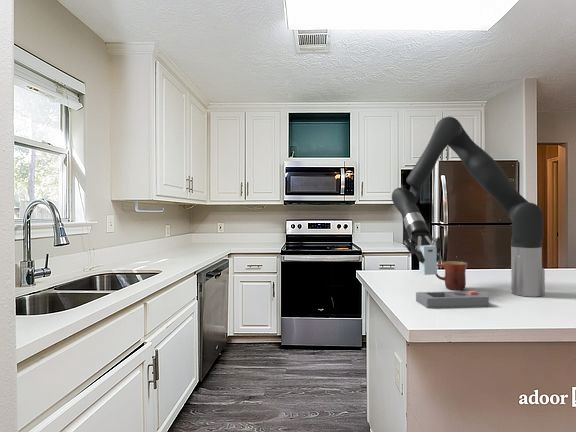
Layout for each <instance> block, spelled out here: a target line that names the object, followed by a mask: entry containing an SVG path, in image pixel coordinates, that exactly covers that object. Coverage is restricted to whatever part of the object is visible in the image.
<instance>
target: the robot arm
mask: <svg viewBox="0 0 576 432" xmlns="http://www.w3.org/2000/svg"><path fill="white" fill-rule="evenodd" d="M447 146H448V147H450V149H451V150H452V151H454V152H455V154H456V155H457V156H458V158H459V159H460V161H461V163H462V164H463V166H464V167H465V169H466V171H468V173H469V174H470V175H471V176H472V177H473V179H474V180H475V181H476V182H477V183H478V184H479V185H480V186H481V187H482V188H483V189H484V190H485V191H486V192H487V193H488V194H489V195H490V196H491V197H492V198H493V199H494V200H496V201H497V203H498V204H499V205H500V206H501V208H502V210H503V211H504V212H505V214H506V215H507V217H508V218H509V219H510V221H511V229H512V230H511V233H512V234H511V239H510V250H511V251H510V252H511V253H510V254H511V255H510V259H511V260H510V263H511V264H510V267H511V269H510V270H511V271H510V272H511V282H510V283H511V288H510V289H511V294H514V295H517V296H523V297H530V298H531V297H535V298H537V297H541V296H545V293H546V285H545V283H546V282H545V280H546V278H545V276H546V273H545V272H546V271H545V268H544V267H543V263H542V262H543V260H542V259H543V256H542V255H543V254H542V253H543V251H542V249H543V248H542V243H543V239H544V214H543V211H542V208H541V207H540V206H539V205H538V204H536V203H534V202H529V201H528V200H527V199H526V198H525V197H523V196H522V195H521V194H520V193H519V192H518V190H517V189H516V188H515V186H513V184H512V182H511V180H510V179H509V177H508V176H507V174H506V172H505V171H504V169H503V168H502V167H501V166H500V165H499V163H497V161H496V160H495V159H494V158H493V157H492V156H491V155H489V153H488V152H486V151H485V150H484V149H483V148H481V147H480V146H479V145H478V144H476V143H475V142H474V140H472V139H471V136H469V134H468V133H467V131H466V130H465V129H464V127H463V125H462V123H461V122H460V121H459V119H457V118H455V117H453V116H445V117H442V118H441V119H440V120H439V121H438V122H437V123H436V125H435V127H434V129H433V133H432V135H431V137H430V140H429V141H428V143H427V145H426V147H425V149H424V150H423V153H421V156H420V157H419V159H418V161H417V162H416V163H415V164H414V166H413V168H412V169H411V171H410V173H409V174H408V176H407V177H406V180H405V181H406V183H407V184H408V185H409V186H410V187H409V190H408V189H406V188H405V187H397V188H395V189H394V190H393V191H392V193H391V201H392V203H393V205H394V206H395V208H396V209H397V210H398V212H399V213H400V215H401V217H402V220H403V223H404V227H405V230H406V232H407V235H408V237H409V238H407V237H406V238H404V241H403V246H405V248H406V249H407V250H408V252H409V253H410V254H411V255H416V257H417V260H418V262H419V261H420V262H421V263H424V261H425V259H424V257H423V254H422V252H421V249H420V246H421V245H432V246H436V252H437V264H439V263H438V262H439V261H440V255H439V254H440V252H441V250H442V241H441V240H442V239H441V238H440V236H438V237H436V238H435V237H433V236H432V235H431V233H430V230H429V228H428V225H427V224H426V220H425V219H424V217H423V216H422V214H421V211H420V208H419V207H418V205H417V203H418V201H419V198H420V195H421V191H422V189H423V186H424V184H426V182H427V180H428V178H429V177H430V175H431V173H432V172H433V170H434V168H435V166H436V164H437V162H438V160H439V158H440V156H441V155H442V153H443V152H444V150H445V149H446V148H447Z"/></svg>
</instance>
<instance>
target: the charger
mask: <svg viewBox="0 0 576 432" xmlns="http://www.w3.org/2000/svg"><path fill="white" fill-rule="evenodd" d="M420 249H421V252H422V254H423V257H424V259H425V261H424V263H421V262H420V261H419V260H418V262H419V263H418V264H419V267H418V268H419V270H418V271H419V274H422V275H424V276H428V275H429V276H430V275H432V276H433V275H435V274H438V266H437V264H438V263H437V252H436V245H434V246H432V245H421V246H420Z"/></svg>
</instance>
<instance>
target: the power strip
mask: <svg viewBox="0 0 576 432" xmlns="http://www.w3.org/2000/svg"><path fill="white" fill-rule="evenodd" d="M489 299H490V298H489V296H488V295H484V294H482V293H479V292H478V291H477V290H476V291H475V290H460V291H457V290H449V291H418V292H415V301H416V302H417V304H418V303H419V304H420V305H421V306H423V307H425V308H427V309H436V308H437V309H439V308H442V309H443V308H444V309H445V308H475V307H477V308H479V307H480V308H481V307H489V305H490V304H489V303H490V301H489Z"/></svg>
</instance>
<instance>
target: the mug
mask: <svg viewBox="0 0 576 432" xmlns="http://www.w3.org/2000/svg"><path fill="white" fill-rule="evenodd" d="M437 267H441V268H443V270H444V276H440V275H439V274H438V273H437V274H434V275H435V276H436V278H438V280H442V281H444V287H445V288H446V289H447V290H449V291H458V290H460V291H465V289H466V284H467V281H466V270H467V267H468V262H464V261H451V260H450V261H443V262H442V263H437Z"/></svg>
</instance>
